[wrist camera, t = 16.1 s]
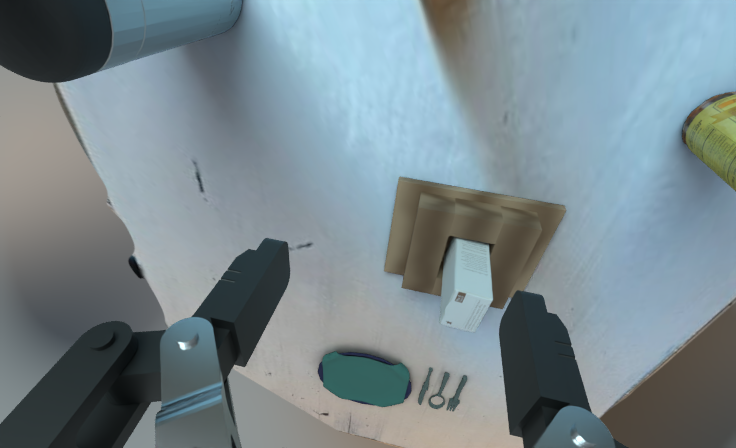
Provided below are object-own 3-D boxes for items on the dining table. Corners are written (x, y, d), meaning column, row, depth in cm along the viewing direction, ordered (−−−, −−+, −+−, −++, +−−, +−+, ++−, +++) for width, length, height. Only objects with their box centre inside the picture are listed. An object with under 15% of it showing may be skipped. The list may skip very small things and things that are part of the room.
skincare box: (473, 263, 49) (477, 336, 39) (441, 255, 49) (437, 326, 40) (489, 229, 45) (497, 302, 35) (455, 221, 45) (454, 290, 36)
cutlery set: (318, 336, 69) (315, 346, 68) (472, 367, 66) (473, 379, 64) (321, 386, 82) (318, 396, 80) (451, 414, 78) (451, 425, 77)
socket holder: (385, 266, 54) (380, 288, 50) (399, 176, 44) (394, 195, 41) (518, 294, 52) (522, 318, 48) (564, 205, 42) (574, 228, 38)
